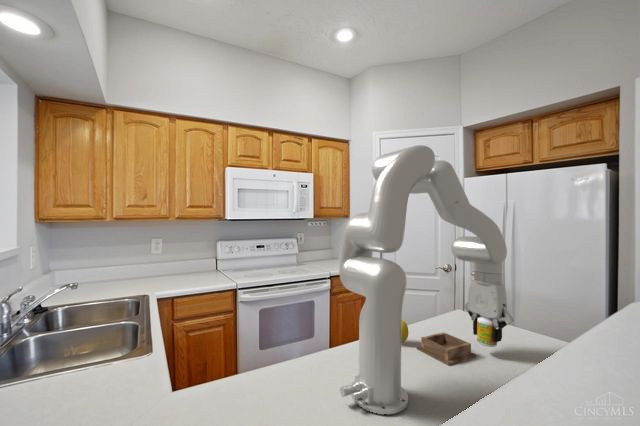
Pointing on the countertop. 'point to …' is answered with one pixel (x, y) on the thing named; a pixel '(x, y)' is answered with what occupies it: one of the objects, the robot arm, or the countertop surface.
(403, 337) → the lemon
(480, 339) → the supplement bottle
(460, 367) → the countertop surface
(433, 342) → the brown square bottle holder
